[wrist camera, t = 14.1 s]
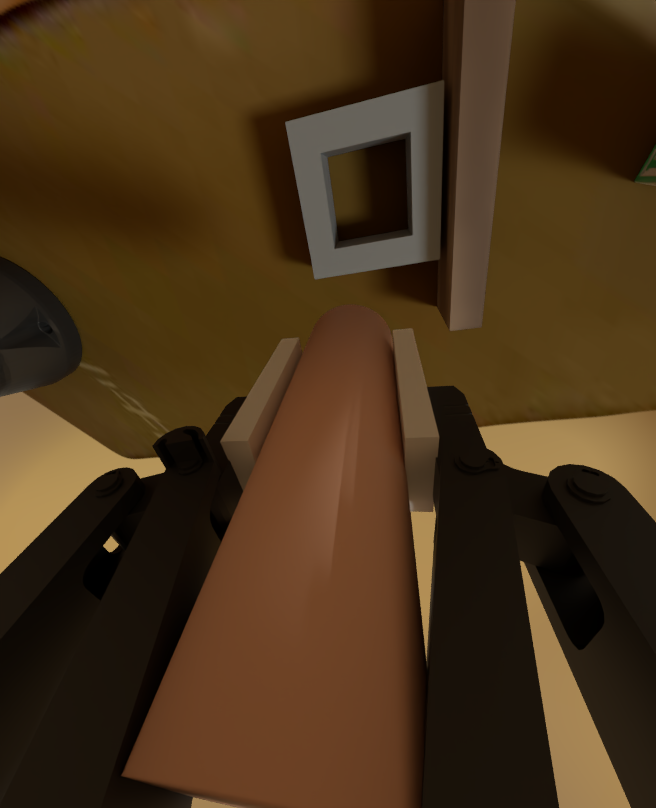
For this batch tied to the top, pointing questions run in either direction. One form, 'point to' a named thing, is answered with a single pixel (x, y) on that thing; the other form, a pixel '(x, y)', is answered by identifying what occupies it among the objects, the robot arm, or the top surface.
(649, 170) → the stack of blocks
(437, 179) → the grey square frame
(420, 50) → the top surface
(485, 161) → the wall
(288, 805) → the dowel
